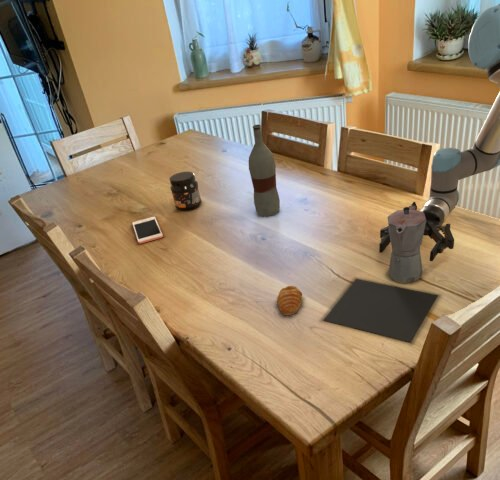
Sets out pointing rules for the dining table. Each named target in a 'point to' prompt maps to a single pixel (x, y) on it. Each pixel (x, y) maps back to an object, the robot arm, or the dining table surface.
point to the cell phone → (147, 230)
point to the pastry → (289, 300)
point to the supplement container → (185, 191)
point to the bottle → (263, 177)
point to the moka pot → (406, 244)
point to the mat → (382, 309)
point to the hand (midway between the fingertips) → (405, 252)
